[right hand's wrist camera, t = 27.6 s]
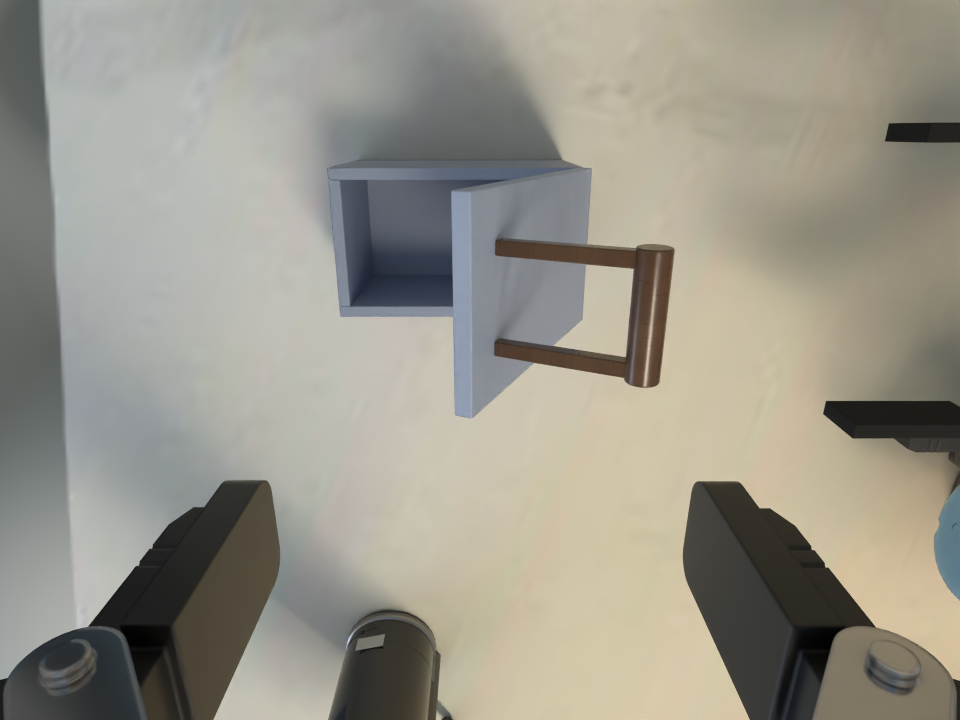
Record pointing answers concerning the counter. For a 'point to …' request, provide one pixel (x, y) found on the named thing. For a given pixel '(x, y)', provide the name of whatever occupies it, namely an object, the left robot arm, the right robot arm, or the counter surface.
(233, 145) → the counter surface
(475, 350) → the lid
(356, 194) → the chest
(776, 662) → the right robot arm
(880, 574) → the counter surface
